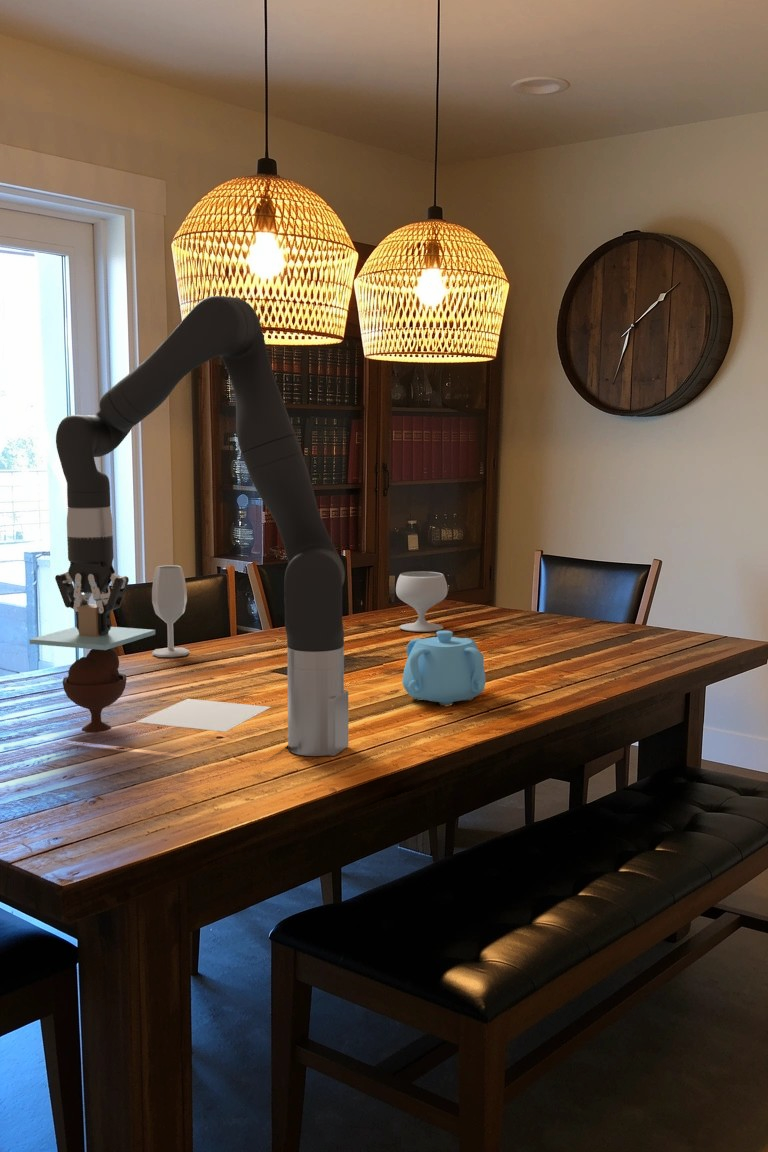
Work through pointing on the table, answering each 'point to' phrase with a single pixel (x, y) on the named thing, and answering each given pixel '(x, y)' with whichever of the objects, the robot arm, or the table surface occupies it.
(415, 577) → the chalice
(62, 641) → the cover sheet
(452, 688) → the decorative pot
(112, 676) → the ice cream bowl
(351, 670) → the table surface
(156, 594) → the wineglass
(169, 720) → the mat
